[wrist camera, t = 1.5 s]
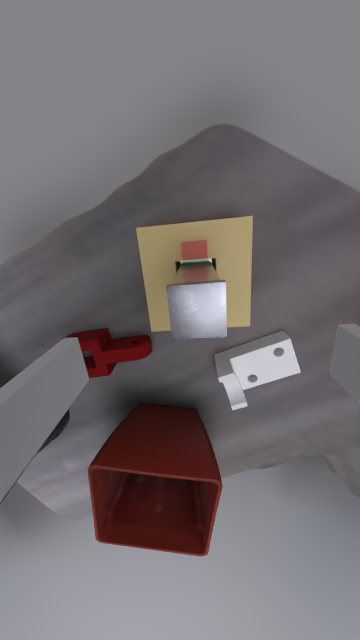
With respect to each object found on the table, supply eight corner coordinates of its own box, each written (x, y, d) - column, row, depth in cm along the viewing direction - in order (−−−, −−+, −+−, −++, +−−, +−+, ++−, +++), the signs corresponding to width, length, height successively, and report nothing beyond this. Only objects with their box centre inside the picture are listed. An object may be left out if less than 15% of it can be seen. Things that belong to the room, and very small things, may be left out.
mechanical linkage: (81, 365, 45) (68, 380, 40) (69, 333, 42) (53, 345, 38) (157, 355, 43) (152, 370, 38) (148, 321, 40) (142, 333, 36)
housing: (159, 313, 39) (149, 336, 30) (148, 229, 34) (132, 227, 25) (239, 308, 38) (252, 330, 29) (239, 220, 33) (256, 214, 24)
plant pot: (123, 387, 46) (85, 467, 30) (214, 397, 45) (223, 483, 30) (124, 452, 53) (95, 543, 37) (203, 460, 52) (207, 557, 37)
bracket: (226, 382, 44) (232, 410, 37) (214, 353, 42) (217, 377, 35) (292, 361, 41) (312, 387, 34) (282, 329, 39) (301, 350, 32)
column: (183, 285, 37) (170, 340, 18) (181, 257, 36) (164, 285, 16) (210, 283, 37) (228, 337, 17) (209, 255, 35) (227, 280, 16)
